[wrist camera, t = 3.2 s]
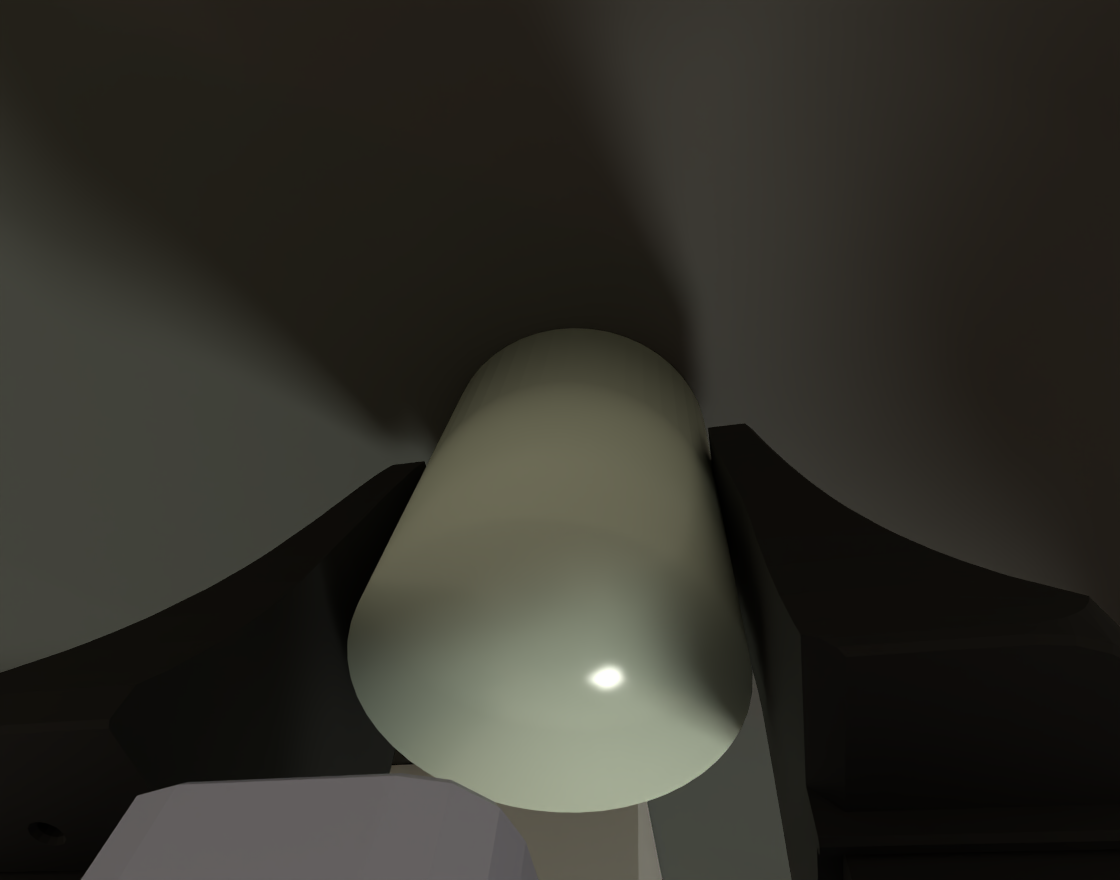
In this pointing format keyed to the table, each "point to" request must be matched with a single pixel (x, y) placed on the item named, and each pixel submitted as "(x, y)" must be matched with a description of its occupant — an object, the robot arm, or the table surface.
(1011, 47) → the table surface
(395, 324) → the table surface
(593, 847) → the white bin
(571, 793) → the sage green capsule
